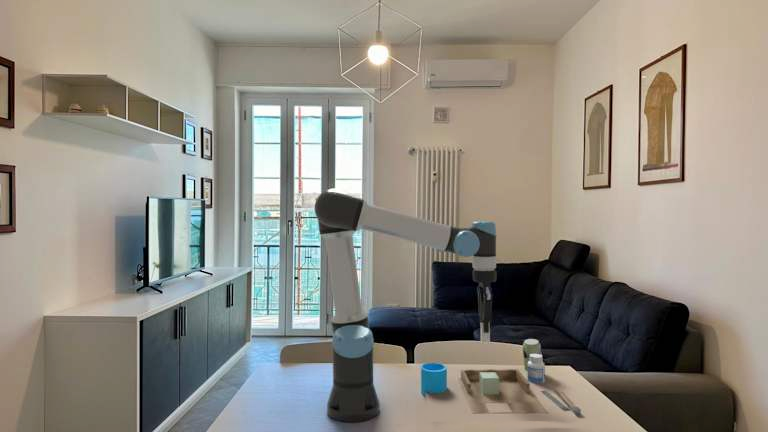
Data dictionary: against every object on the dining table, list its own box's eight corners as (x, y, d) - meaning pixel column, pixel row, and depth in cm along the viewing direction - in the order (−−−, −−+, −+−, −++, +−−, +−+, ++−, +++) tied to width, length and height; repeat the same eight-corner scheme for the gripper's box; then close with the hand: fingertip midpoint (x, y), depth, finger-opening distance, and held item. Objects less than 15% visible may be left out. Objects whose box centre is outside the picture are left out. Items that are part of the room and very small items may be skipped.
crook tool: (564, 416, 132) (564, 410, 132) (540, 396, 146) (540, 391, 146) (580, 415, 133) (580, 409, 133) (555, 395, 146) (555, 390, 146)
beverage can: (544, 372, 167) (544, 338, 166) (538, 378, 160) (539, 343, 160) (526, 369, 170) (526, 336, 170) (520, 375, 164) (520, 341, 164)
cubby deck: (472, 418, 131) (472, 402, 131) (457, 382, 157) (457, 369, 157) (548, 418, 131) (548, 402, 131) (520, 382, 157) (520, 369, 157)
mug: (446, 398, 145) (446, 372, 144) (419, 396, 146) (419, 370, 146) (447, 384, 156) (447, 359, 156) (423, 382, 158) (423, 358, 158)
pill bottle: (532, 380, 159) (532, 351, 159) (547, 384, 155) (547, 355, 155) (524, 384, 155) (524, 355, 155) (539, 389, 151) (539, 359, 151)
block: (482, 394, 144) (482, 378, 144) (479, 388, 149) (479, 372, 149) (499, 394, 144) (499, 378, 144) (495, 388, 149) (495, 372, 149)
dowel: (571, 413, 134) (571, 407, 134) (557, 396, 146) (557, 391, 146) (577, 413, 134) (577, 407, 134) (562, 396, 146) (562, 391, 146)
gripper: (501, 271, 146) (501, 347, 146) (491, 266, 159) (492, 335, 159) (476, 272, 146) (477, 347, 146) (469, 266, 159) (470, 336, 159)
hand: (485, 341), depth 153 cm, fingers closed
